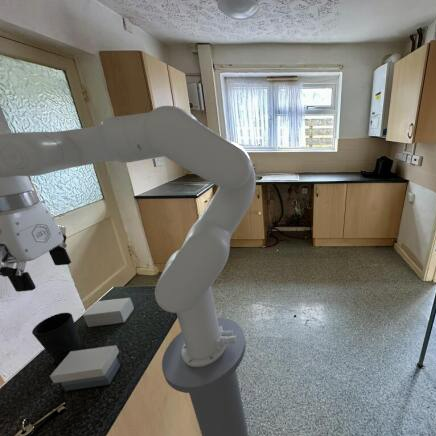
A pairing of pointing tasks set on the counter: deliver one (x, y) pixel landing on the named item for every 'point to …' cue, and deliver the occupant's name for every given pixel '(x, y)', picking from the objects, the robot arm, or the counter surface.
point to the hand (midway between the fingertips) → (46, 276)
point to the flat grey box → (85, 364)
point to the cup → (58, 336)
